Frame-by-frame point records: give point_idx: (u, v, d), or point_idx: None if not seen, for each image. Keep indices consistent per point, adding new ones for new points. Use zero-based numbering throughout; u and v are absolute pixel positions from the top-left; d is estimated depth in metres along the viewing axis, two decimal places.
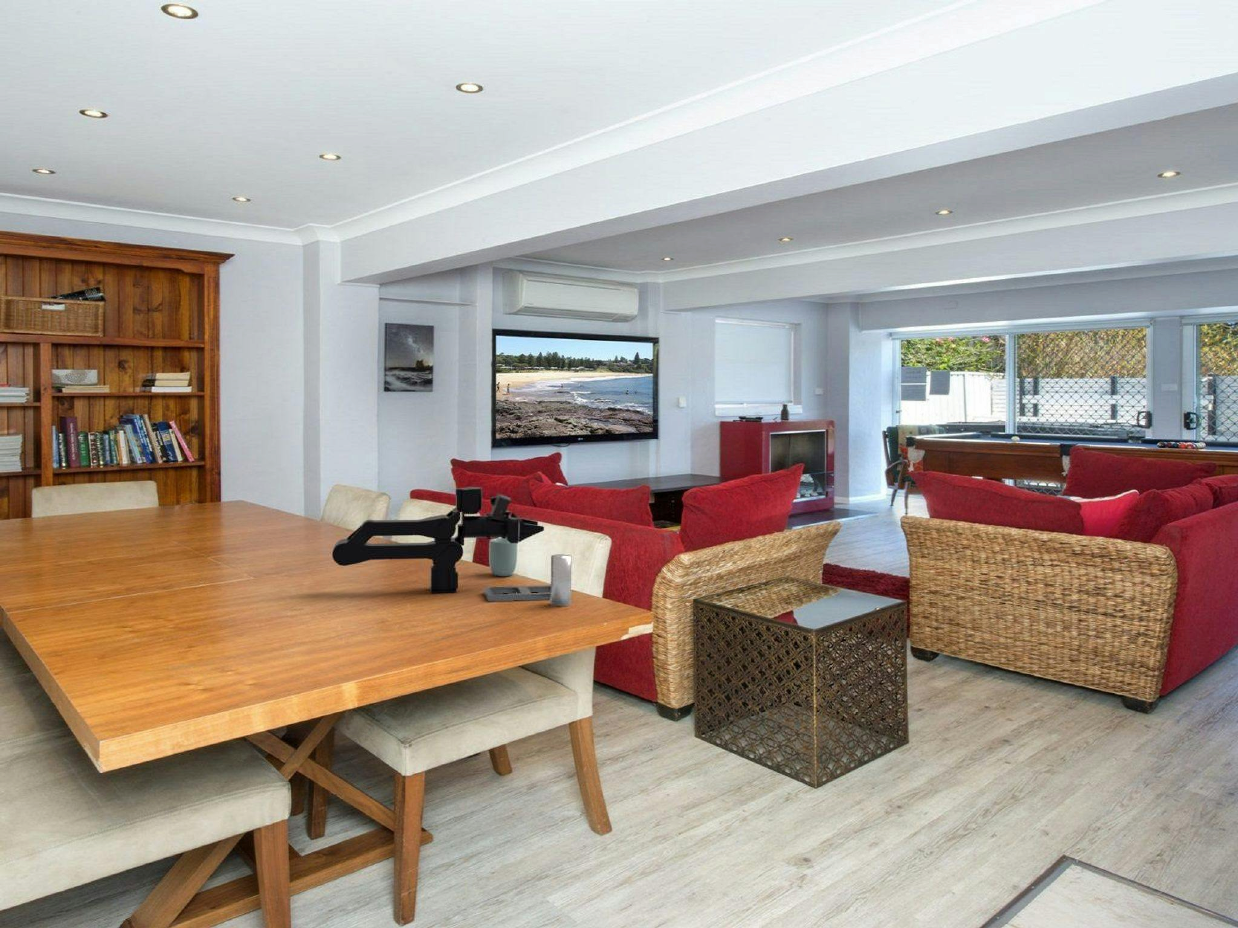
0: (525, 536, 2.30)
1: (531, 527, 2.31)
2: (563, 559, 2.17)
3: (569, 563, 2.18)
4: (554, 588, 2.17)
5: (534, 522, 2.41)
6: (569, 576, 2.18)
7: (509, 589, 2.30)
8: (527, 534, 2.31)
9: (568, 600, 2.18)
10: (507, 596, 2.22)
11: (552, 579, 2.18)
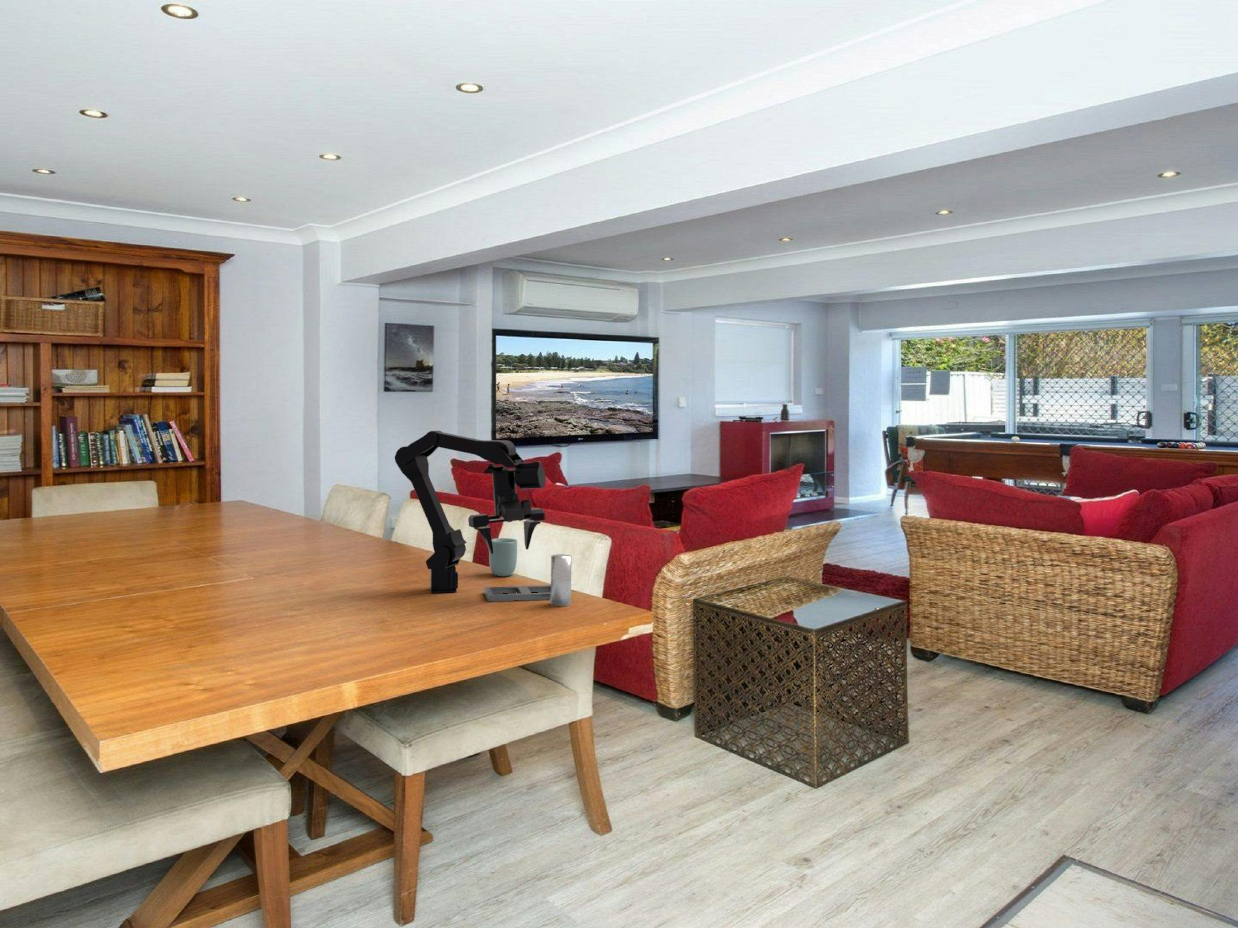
0: (482, 533, 2.26)
1: (486, 540, 2.24)
2: (563, 559, 2.17)
3: (569, 563, 2.18)
4: (554, 588, 2.17)
5: (526, 545, 2.28)
6: (569, 576, 2.18)
7: (509, 589, 2.30)
8: (483, 536, 2.25)
9: (568, 600, 2.18)
10: (507, 596, 2.22)
11: (552, 579, 2.18)
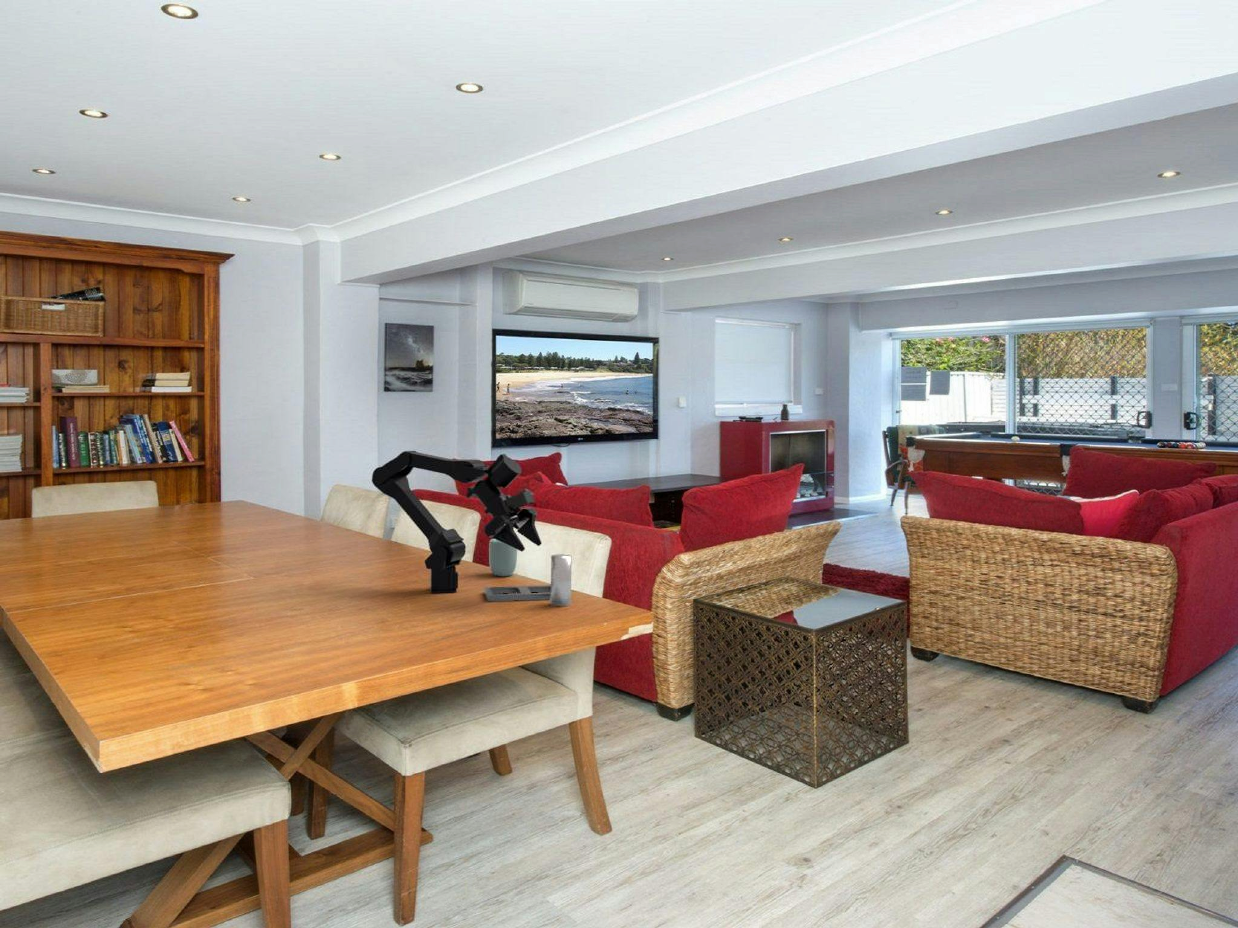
0: (502, 540, 2.18)
1: (513, 538, 2.17)
2: (563, 559, 2.17)
3: (569, 563, 2.18)
4: (554, 588, 2.17)
5: (538, 541, 2.26)
6: (569, 576, 2.18)
7: (509, 589, 2.30)
8: (505, 540, 2.18)
9: (568, 600, 2.18)
10: (507, 596, 2.22)
11: (552, 579, 2.18)
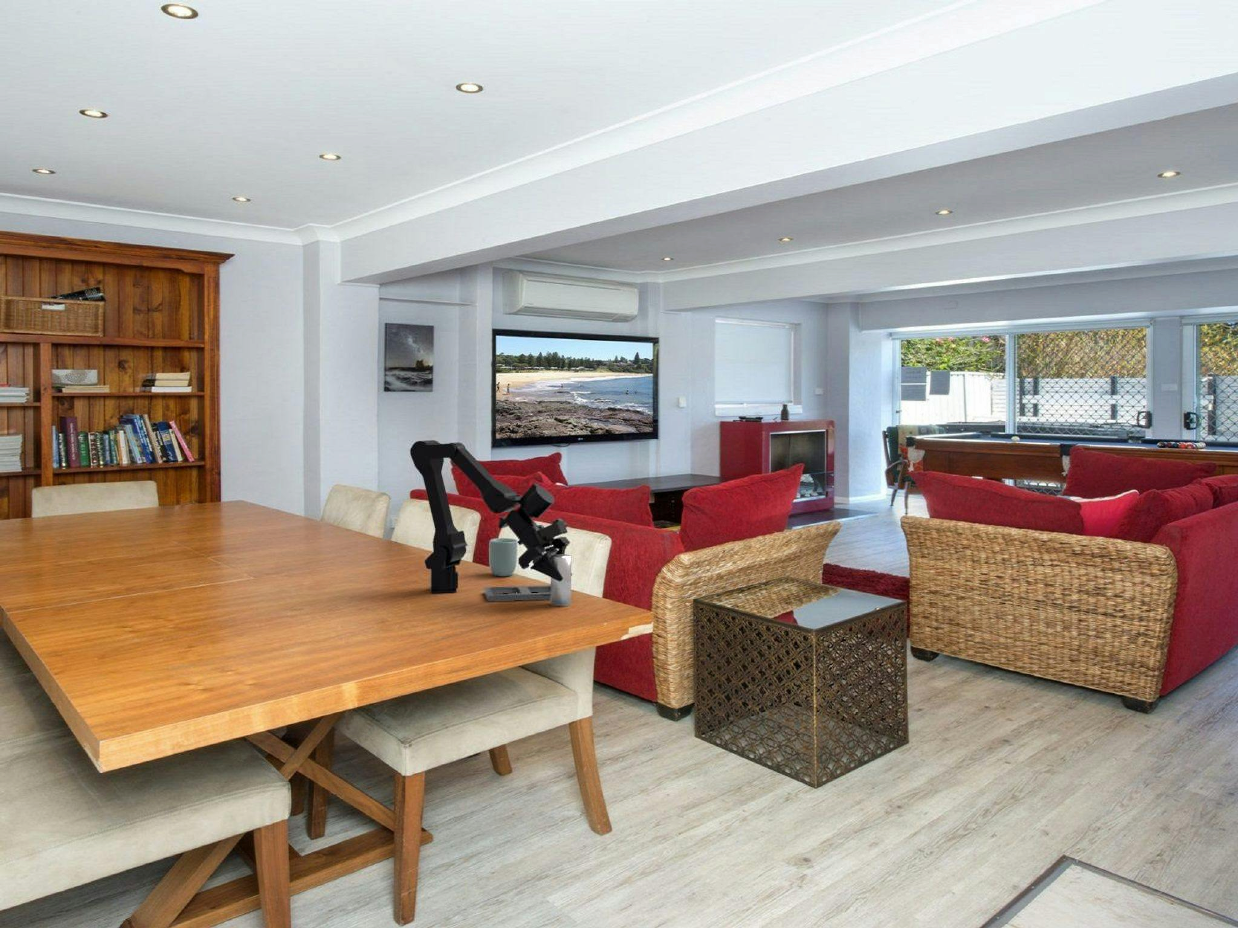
0: (540, 570, 2.16)
1: (551, 568, 2.16)
2: (563, 559, 2.17)
3: (569, 563, 2.18)
4: (554, 588, 2.17)
5: None
6: (569, 576, 2.18)
7: (509, 589, 2.30)
8: (543, 570, 2.16)
9: (568, 600, 2.18)
10: (507, 596, 2.22)
11: (552, 579, 2.18)
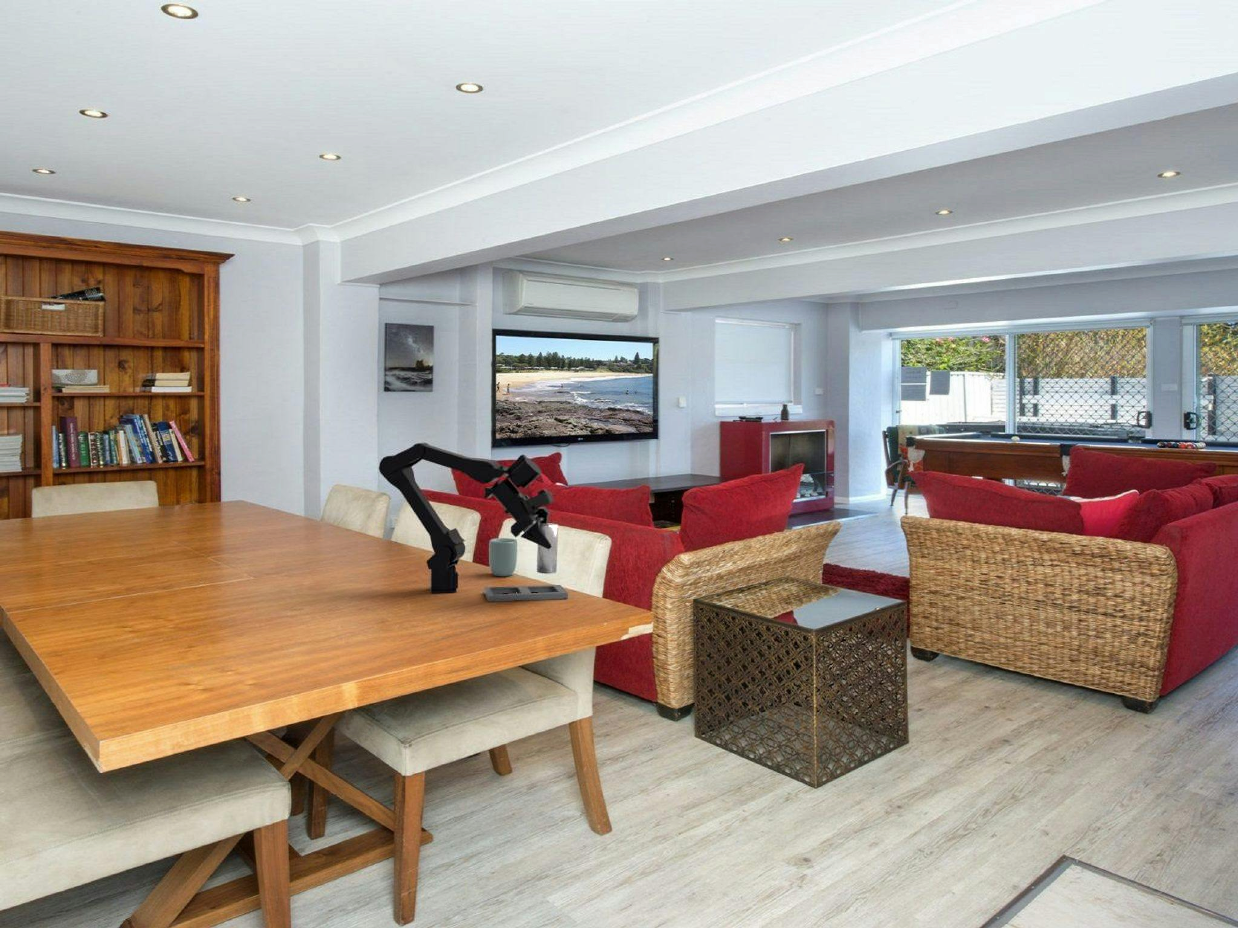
0: (530, 538, 2.22)
1: (541, 537, 2.22)
2: (552, 527, 2.24)
3: (556, 531, 2.25)
4: (542, 556, 2.24)
5: None
6: (556, 544, 2.25)
7: (509, 589, 2.30)
8: (533, 538, 2.23)
9: (555, 567, 2.26)
10: (507, 596, 2.22)
11: (540, 547, 2.24)
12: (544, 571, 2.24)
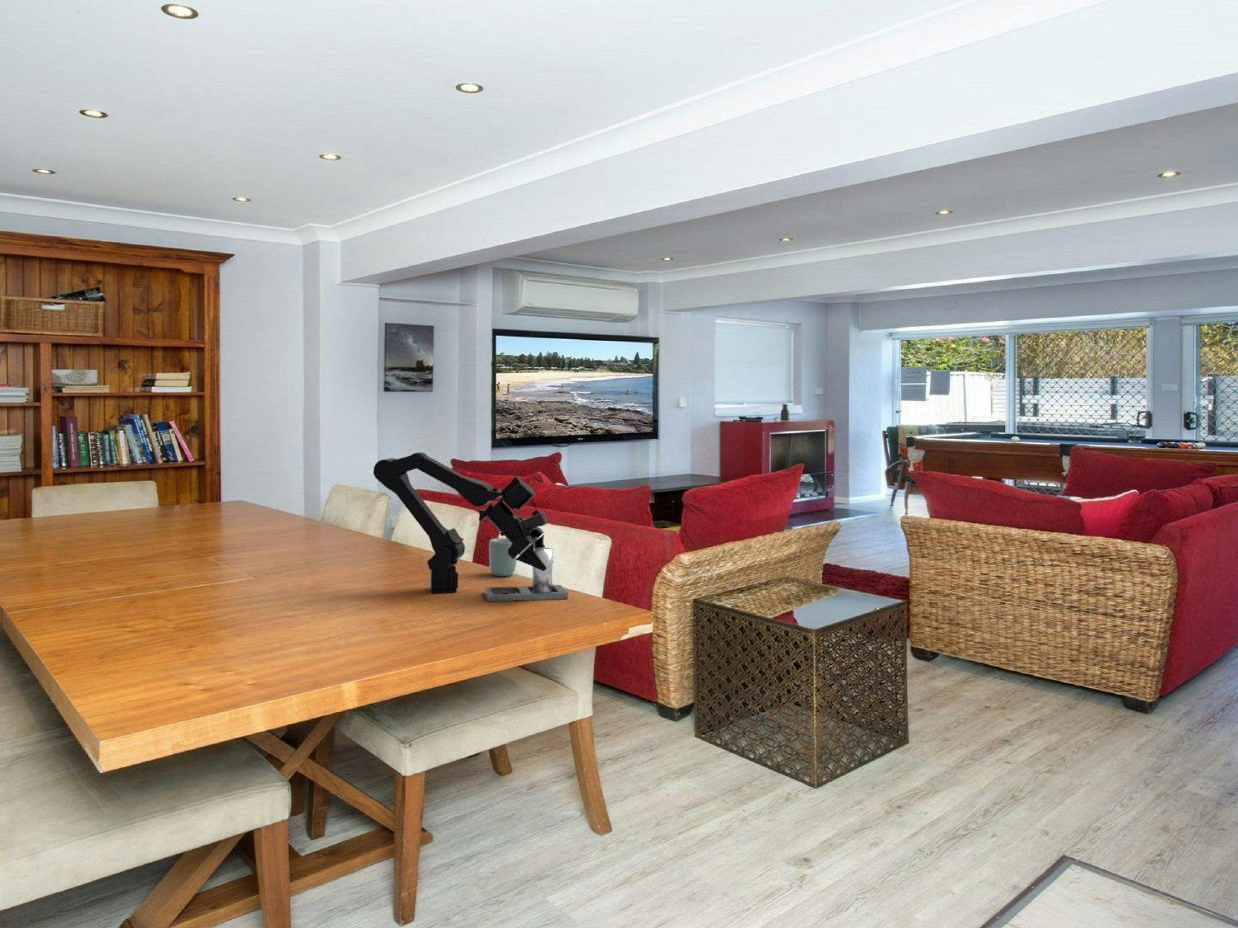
0: (525, 560, 2.23)
1: (536, 559, 2.23)
2: (547, 552, 2.26)
3: (551, 555, 2.28)
4: (538, 580, 2.27)
5: None
6: (551, 568, 2.28)
7: (509, 589, 2.30)
8: (528, 561, 2.23)
9: (551, 591, 2.28)
10: (507, 596, 2.22)
11: (535, 571, 2.27)
12: None
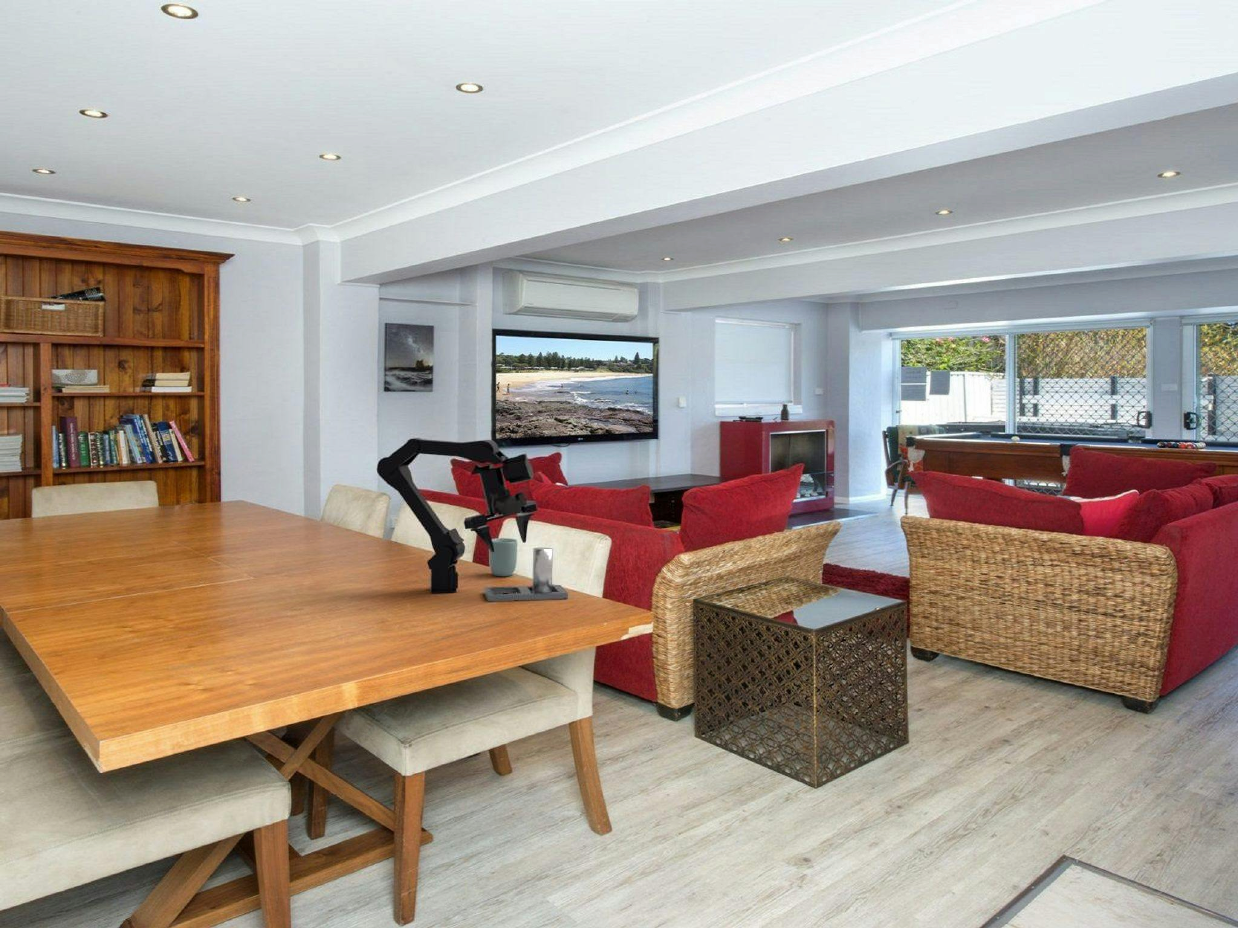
0: (479, 534, 2.27)
1: (486, 540, 2.25)
2: (547, 552, 2.26)
3: (551, 555, 2.28)
4: (538, 580, 2.27)
5: (523, 539, 2.31)
6: (551, 568, 2.28)
7: (509, 589, 2.30)
8: (481, 536, 2.27)
9: (551, 591, 2.28)
10: (507, 596, 2.22)
11: (535, 571, 2.27)
12: None
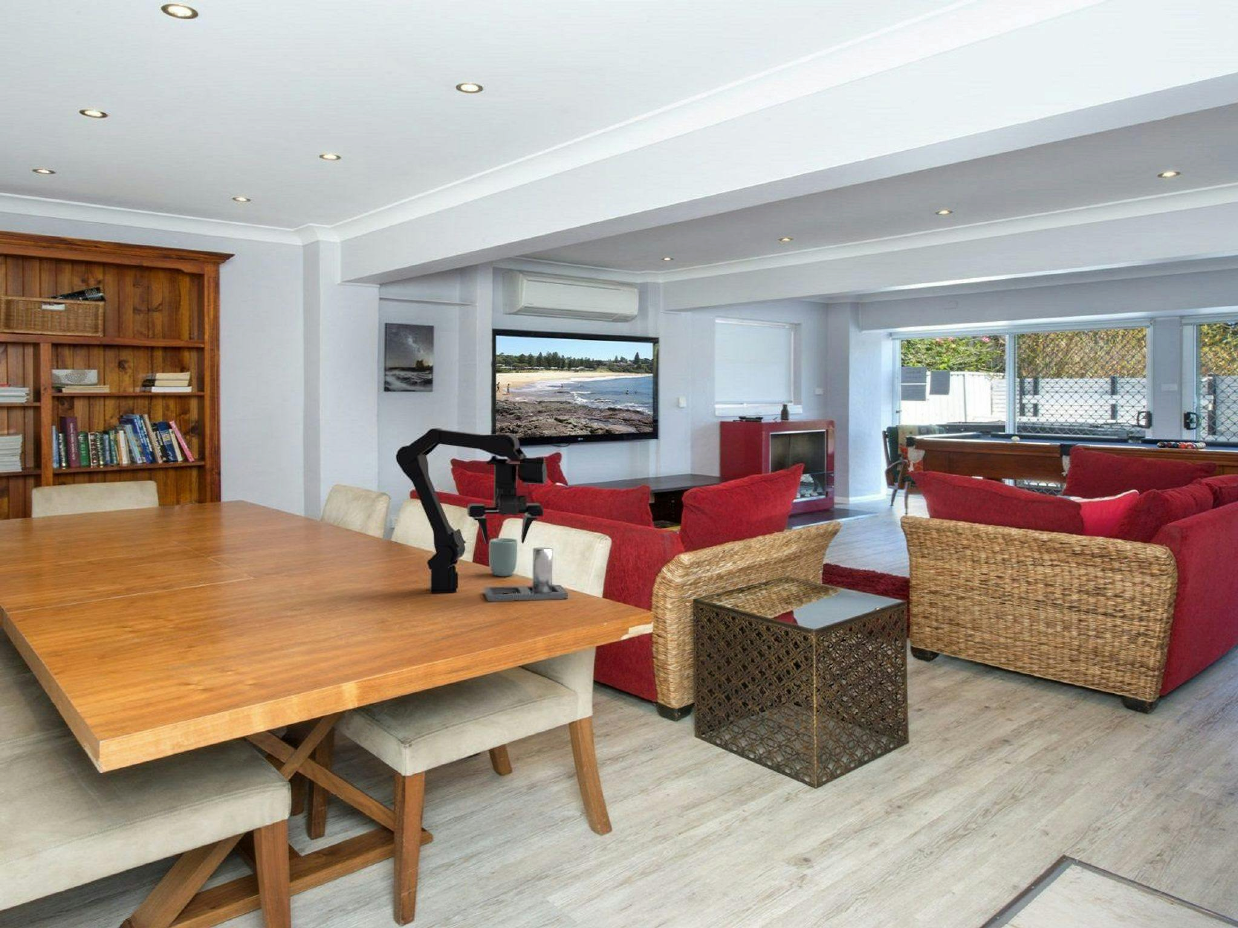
0: (479, 523, 2.29)
1: (482, 530, 2.27)
2: (547, 552, 2.26)
3: (551, 555, 2.28)
4: (538, 580, 2.27)
5: (522, 539, 2.30)
6: (551, 568, 2.28)
7: (509, 589, 2.30)
8: (480, 525, 2.29)
9: (551, 591, 2.28)
10: (507, 596, 2.22)
11: (535, 571, 2.27)
12: None
